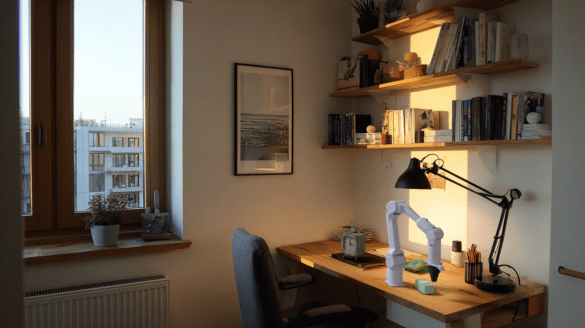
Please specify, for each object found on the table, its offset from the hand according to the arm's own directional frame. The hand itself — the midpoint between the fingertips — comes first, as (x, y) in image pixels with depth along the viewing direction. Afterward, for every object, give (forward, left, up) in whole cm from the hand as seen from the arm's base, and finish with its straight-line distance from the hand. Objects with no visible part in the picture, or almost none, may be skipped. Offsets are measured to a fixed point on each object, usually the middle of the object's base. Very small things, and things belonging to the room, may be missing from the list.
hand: (434, 281), depth 198 cm
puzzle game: (-46, +15, -8) cm, 49 cm away
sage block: (-4, 0, -5) cm, 7 cm away
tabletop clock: (-73, -16, -8) cm, 75 cm away
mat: (-10, 0, -8) cm, 12 cm away
